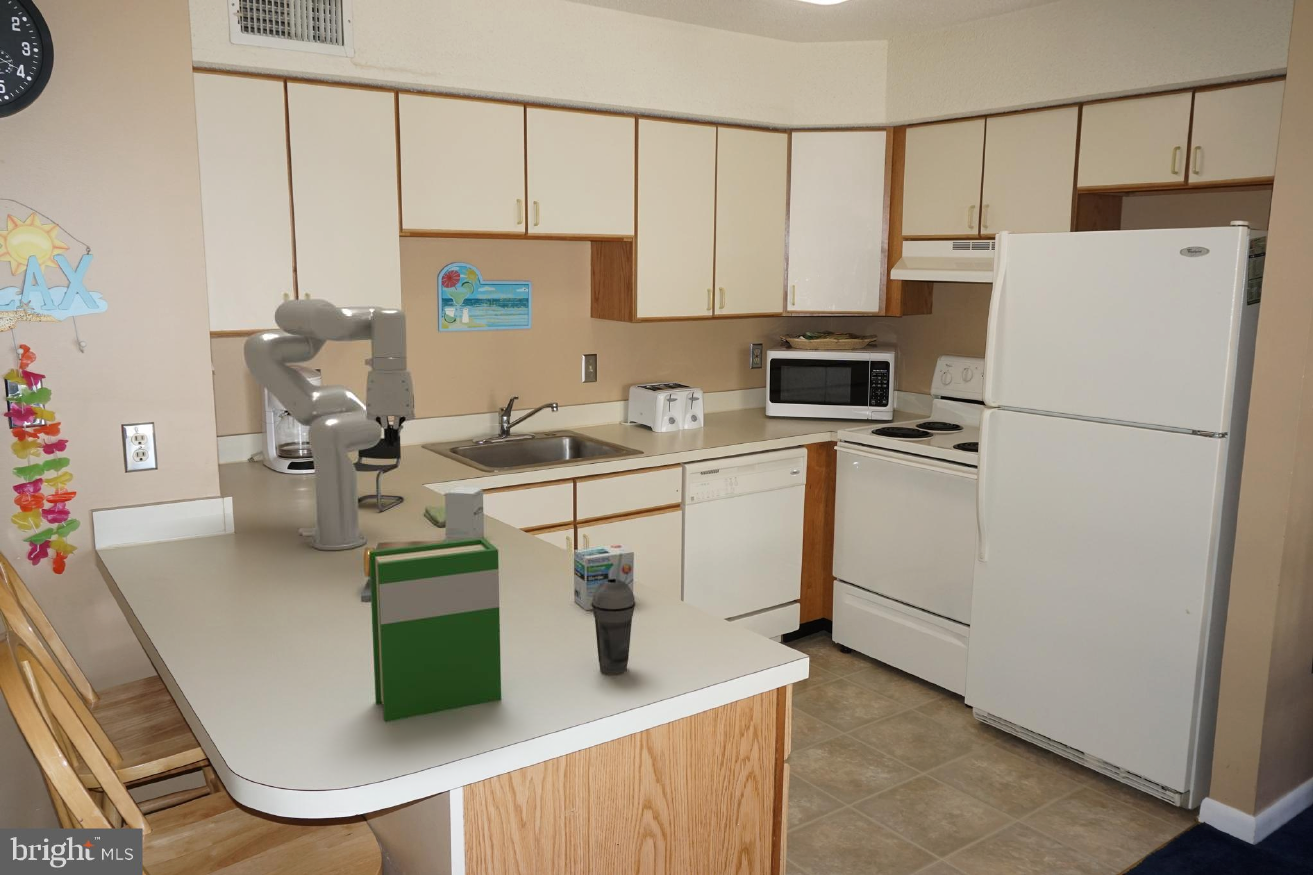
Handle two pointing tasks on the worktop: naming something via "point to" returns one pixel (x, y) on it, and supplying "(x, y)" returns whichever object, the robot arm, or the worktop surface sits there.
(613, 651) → the beverage cup
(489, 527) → the worktop surface
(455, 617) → the hardback book
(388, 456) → the chair
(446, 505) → the supplement box
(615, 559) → the light bulb box
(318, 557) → the worktop surface
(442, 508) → the washcloth
